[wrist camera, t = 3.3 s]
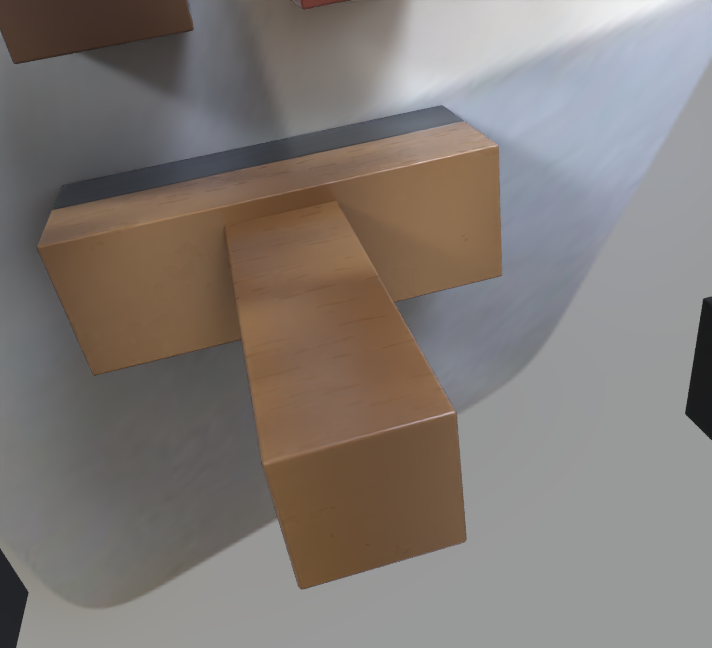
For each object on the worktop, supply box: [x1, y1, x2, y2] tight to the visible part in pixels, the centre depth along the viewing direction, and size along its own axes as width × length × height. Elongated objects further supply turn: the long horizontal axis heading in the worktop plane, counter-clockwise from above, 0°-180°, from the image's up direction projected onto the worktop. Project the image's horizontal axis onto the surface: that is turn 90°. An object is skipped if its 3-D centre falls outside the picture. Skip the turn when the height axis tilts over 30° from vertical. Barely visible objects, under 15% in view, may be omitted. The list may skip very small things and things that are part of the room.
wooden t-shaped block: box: [37, 105, 502, 589], centre depth 16 cm, size 12×4×14 cm, turn 99°
